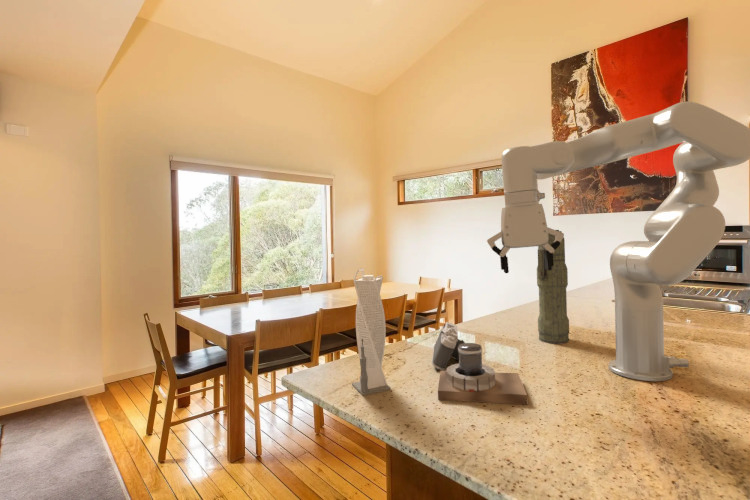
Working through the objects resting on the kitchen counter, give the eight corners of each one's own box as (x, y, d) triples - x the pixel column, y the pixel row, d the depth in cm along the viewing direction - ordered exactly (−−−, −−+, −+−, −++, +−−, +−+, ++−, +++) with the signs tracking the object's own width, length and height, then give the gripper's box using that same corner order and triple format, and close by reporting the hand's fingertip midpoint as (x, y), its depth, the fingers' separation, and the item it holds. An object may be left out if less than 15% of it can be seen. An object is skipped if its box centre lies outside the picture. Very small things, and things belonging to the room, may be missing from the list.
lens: (482, 377, 87) (481, 343, 86) (483, 386, 82) (482, 350, 81) (459, 376, 88) (458, 342, 88) (459, 385, 83) (457, 349, 83)
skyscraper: (350, 382, 92) (344, 269, 91) (380, 376, 95) (375, 266, 94) (362, 395, 84) (356, 271, 83) (394, 388, 88) (389, 268, 87)
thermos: (576, 338, 120) (573, 229, 119) (558, 346, 113) (555, 230, 111) (549, 333, 127) (546, 230, 126) (530, 340, 120) (527, 231, 118)
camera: (428, 366, 98) (443, 331, 96) (431, 345, 113) (444, 314, 112) (462, 381, 96) (478, 346, 95) (460, 358, 112) (474, 327, 110)
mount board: (518, 381, 88) (517, 363, 88) (527, 404, 77) (526, 383, 76) (440, 378, 92) (440, 360, 92) (438, 399, 81) (437, 379, 80)
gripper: (555, 197, 92) (561, 266, 92) (482, 205, 95) (488, 272, 96) (565, 194, 84) (570, 270, 85) (485, 203, 88) (491, 275, 88)
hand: (527, 271), depth 90 cm, fingers open, 9 cm apart
